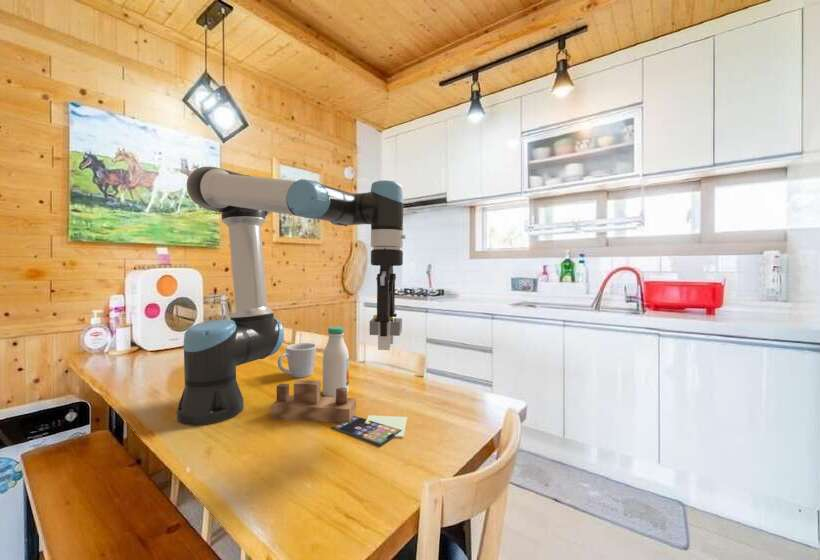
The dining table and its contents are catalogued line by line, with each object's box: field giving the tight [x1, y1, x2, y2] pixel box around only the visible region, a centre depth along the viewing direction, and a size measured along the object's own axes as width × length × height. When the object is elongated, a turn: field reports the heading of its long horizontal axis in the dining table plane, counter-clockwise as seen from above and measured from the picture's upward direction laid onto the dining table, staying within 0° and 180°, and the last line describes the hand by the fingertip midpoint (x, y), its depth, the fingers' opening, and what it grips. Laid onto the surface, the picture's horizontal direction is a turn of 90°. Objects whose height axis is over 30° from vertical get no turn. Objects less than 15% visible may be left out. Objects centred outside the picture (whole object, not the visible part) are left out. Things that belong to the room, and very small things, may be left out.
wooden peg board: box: [270, 379, 357, 423], centre depth 92 cm, size 20×7×8 cm, turn 85°
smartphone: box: [330, 415, 402, 448], centre depth 84 cm, size 8×15×1 cm, turn 56°
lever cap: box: [369, 314, 403, 337], centre depth 85 cm, size 7×5×4 cm
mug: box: [277, 342, 318, 379], centre depth 122 cm, size 10×15×10 cm
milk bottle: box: [322, 326, 350, 397], centre depth 107 cm, size 8×8×20 cm
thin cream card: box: [366, 414, 408, 439], centre depth 86 cm, size 10×10×1 cm
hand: (385, 346), depth 85 cm, fingers closed on lever cap, 5 cm apart
